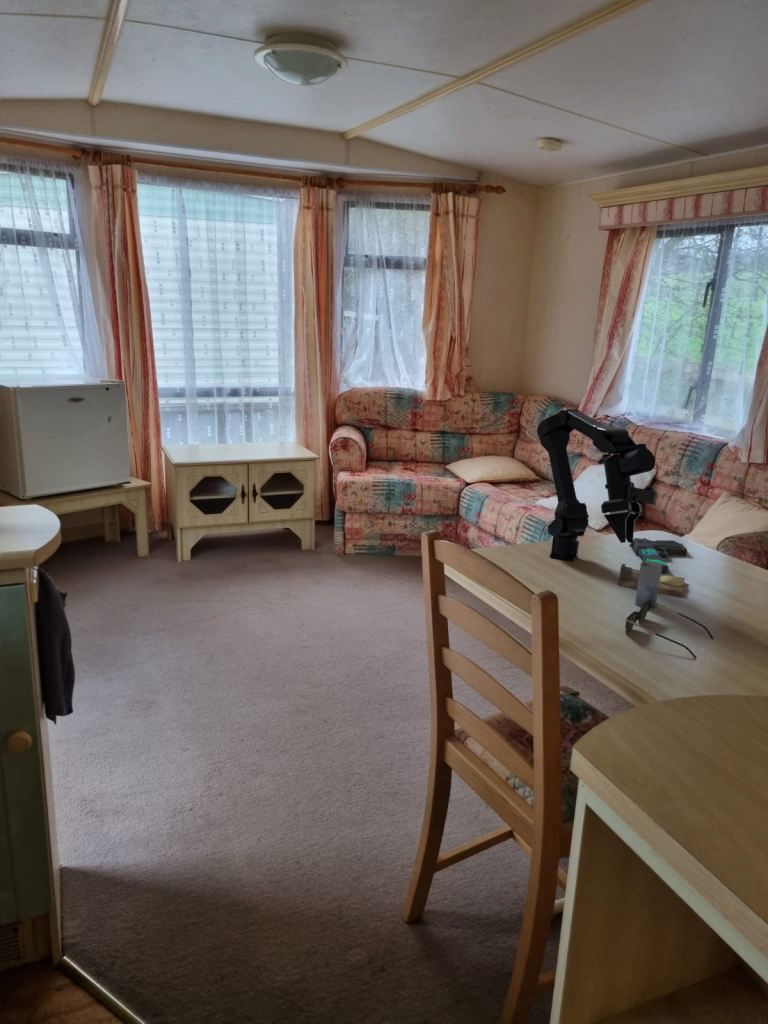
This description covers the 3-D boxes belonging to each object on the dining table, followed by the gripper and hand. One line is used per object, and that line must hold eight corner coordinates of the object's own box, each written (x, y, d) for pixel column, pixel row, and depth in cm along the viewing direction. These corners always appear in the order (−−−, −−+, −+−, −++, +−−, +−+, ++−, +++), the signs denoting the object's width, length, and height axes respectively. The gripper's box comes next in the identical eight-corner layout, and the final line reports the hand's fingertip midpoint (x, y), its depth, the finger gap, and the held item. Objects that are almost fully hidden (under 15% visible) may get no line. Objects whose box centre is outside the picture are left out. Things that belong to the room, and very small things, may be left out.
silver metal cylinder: (633, 606, 165) (639, 565, 162) (636, 599, 169) (641, 559, 166) (654, 610, 163) (661, 569, 160) (656, 603, 167) (662, 563, 164)
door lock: (617, 584, 178) (619, 568, 177) (623, 571, 187) (625, 555, 186) (681, 596, 172) (684, 579, 171) (684, 582, 182) (686, 566, 180)
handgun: (679, 538, 209) (627, 533, 210) (709, 569, 185) (651, 563, 186) (676, 549, 210) (625, 544, 211) (706, 582, 186) (648, 576, 187)
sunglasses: (646, 618, 160) (651, 597, 158) (714, 643, 151) (720, 622, 149) (621, 638, 149) (626, 616, 147) (693, 667, 140) (699, 645, 139)
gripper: (646, 470, 162) (655, 538, 161) (658, 476, 179) (667, 538, 177) (596, 478, 168) (605, 544, 166) (613, 483, 184) (621, 543, 183)
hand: (626, 542), depth 173 cm, fingers open, 9 cm apart
